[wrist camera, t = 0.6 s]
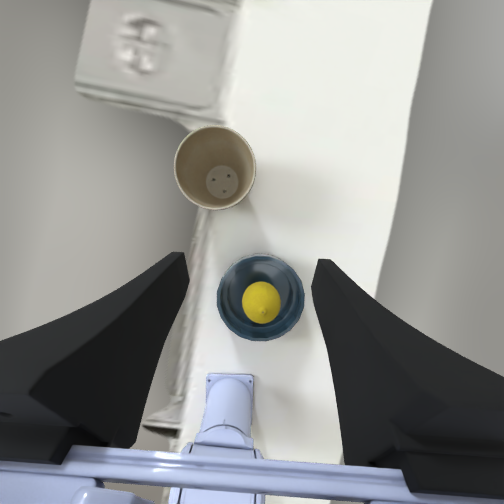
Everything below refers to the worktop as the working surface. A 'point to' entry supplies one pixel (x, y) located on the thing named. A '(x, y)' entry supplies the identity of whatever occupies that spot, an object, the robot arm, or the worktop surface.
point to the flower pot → (214, 167)
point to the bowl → (260, 271)
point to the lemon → (261, 302)
